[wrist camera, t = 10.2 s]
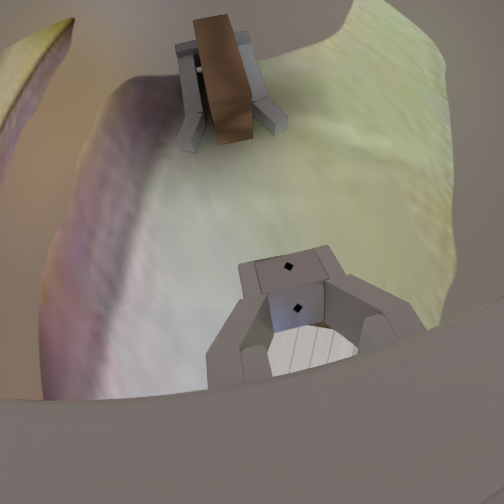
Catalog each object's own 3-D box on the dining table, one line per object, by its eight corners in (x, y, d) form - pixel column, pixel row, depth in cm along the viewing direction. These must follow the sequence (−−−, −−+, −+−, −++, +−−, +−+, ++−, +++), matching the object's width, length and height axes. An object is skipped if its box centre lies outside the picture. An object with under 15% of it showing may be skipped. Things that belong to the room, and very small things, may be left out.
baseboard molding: (366, 333, 28) (246, 312, 29) (377, 337, 25) (245, 314, 26) (292, 554, 24) (197, 542, 24) (294, 567, 21) (194, 555, 21)
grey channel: (181, 156, 31) (173, 140, 27) (170, 65, 33) (164, 47, 29) (287, 134, 31) (290, 116, 27) (258, 48, 33) (258, 29, 29)
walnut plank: (218, 145, 31) (208, 101, 23) (203, 66, 33) (192, 20, 25) (253, 138, 31) (252, 93, 23) (232, 60, 33) (227, 13, 25)
